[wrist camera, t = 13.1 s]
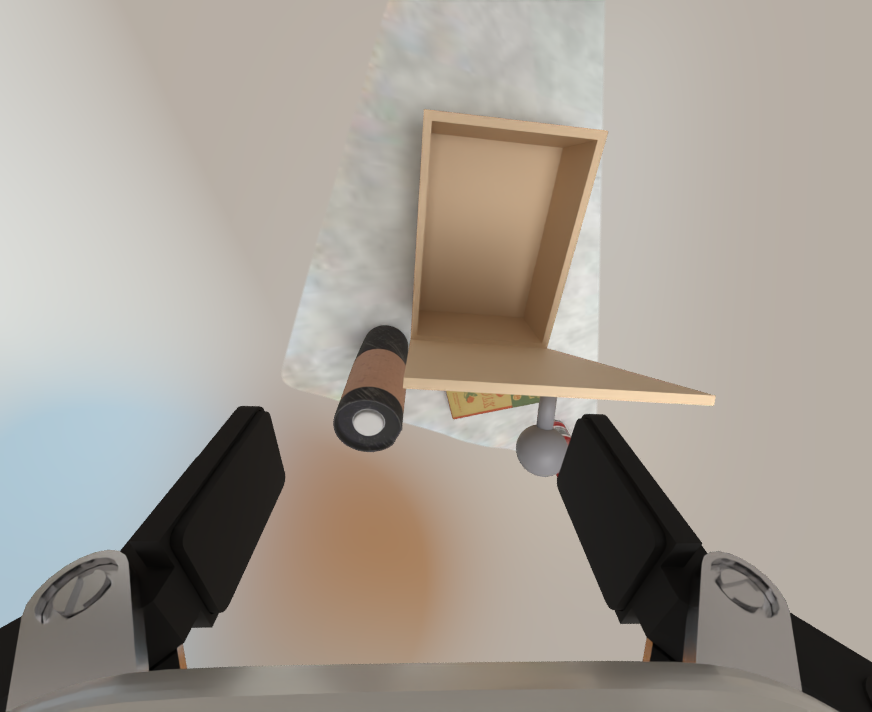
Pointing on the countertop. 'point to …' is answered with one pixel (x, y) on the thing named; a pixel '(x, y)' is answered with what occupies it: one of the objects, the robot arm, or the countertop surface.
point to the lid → (534, 386)
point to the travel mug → (374, 393)
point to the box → (497, 226)
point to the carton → (484, 402)
